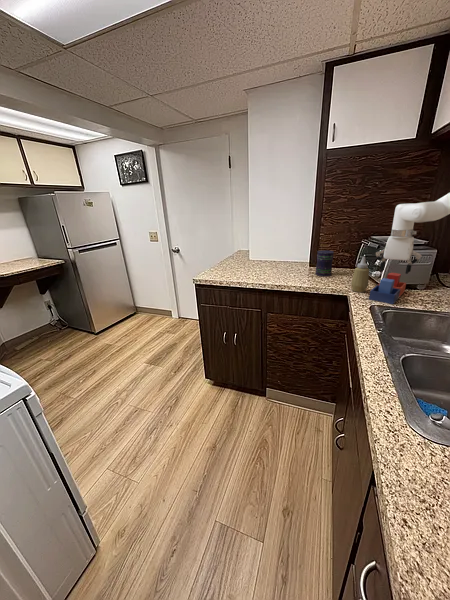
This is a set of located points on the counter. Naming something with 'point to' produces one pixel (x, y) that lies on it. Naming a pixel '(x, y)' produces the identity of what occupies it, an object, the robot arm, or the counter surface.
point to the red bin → (400, 287)
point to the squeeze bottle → (360, 277)
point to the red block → (394, 278)
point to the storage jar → (324, 263)
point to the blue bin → (384, 295)
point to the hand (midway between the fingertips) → (394, 271)
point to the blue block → (386, 285)
